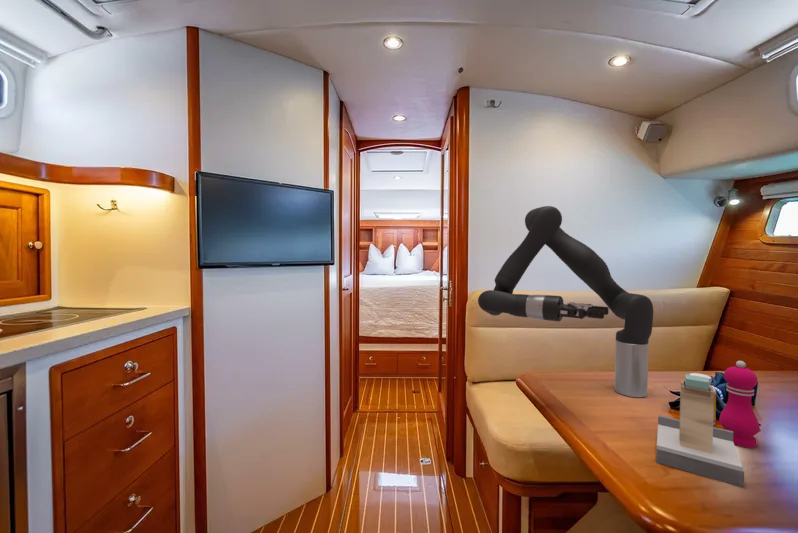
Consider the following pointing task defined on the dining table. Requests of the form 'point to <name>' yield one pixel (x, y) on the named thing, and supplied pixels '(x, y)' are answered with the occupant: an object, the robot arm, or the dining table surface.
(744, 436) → the pepper mill
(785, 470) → the dining table surface
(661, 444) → the dock
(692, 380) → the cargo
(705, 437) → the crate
